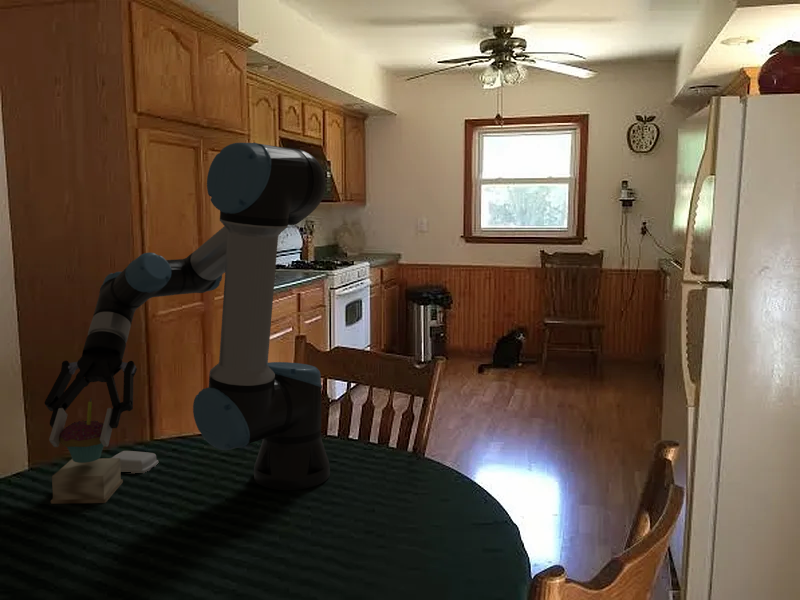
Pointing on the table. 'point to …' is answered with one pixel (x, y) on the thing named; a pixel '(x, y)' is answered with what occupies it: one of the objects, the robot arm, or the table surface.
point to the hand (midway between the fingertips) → (78, 443)
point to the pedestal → (86, 481)
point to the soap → (136, 461)
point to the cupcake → (83, 439)
